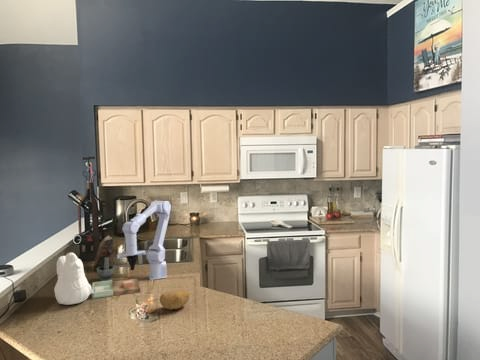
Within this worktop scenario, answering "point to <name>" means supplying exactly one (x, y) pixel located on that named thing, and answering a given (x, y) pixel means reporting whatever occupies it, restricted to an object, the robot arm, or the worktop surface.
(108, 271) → the mortar and pestle
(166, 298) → the potato
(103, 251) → the owl
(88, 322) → the worktop surface
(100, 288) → the cream tile
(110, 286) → the tray
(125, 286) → the terracotta tile
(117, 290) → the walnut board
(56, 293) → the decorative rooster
